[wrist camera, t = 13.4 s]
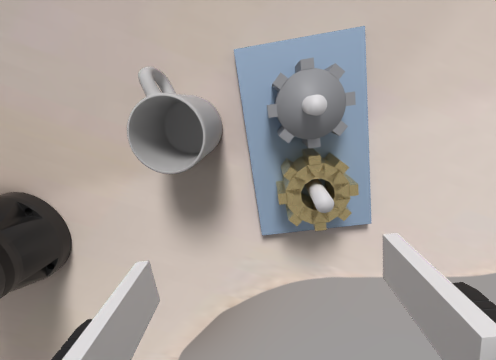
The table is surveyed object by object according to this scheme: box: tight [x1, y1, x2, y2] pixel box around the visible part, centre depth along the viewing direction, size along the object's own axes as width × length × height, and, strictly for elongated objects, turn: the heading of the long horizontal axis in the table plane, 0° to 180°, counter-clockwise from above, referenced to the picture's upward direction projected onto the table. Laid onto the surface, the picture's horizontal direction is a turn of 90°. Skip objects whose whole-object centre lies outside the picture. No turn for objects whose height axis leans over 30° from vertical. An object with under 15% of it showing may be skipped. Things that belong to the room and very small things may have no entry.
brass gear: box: [276, 148, 359, 231], centre depth 35 cm, size 10×10×6 cm
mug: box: [127, 67, 222, 174], centre depth 32 cm, size 12×8×11 cm
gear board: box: [234, 26, 371, 235], centre depth 33 cm, size 16×26×10 cm, turn 9°
